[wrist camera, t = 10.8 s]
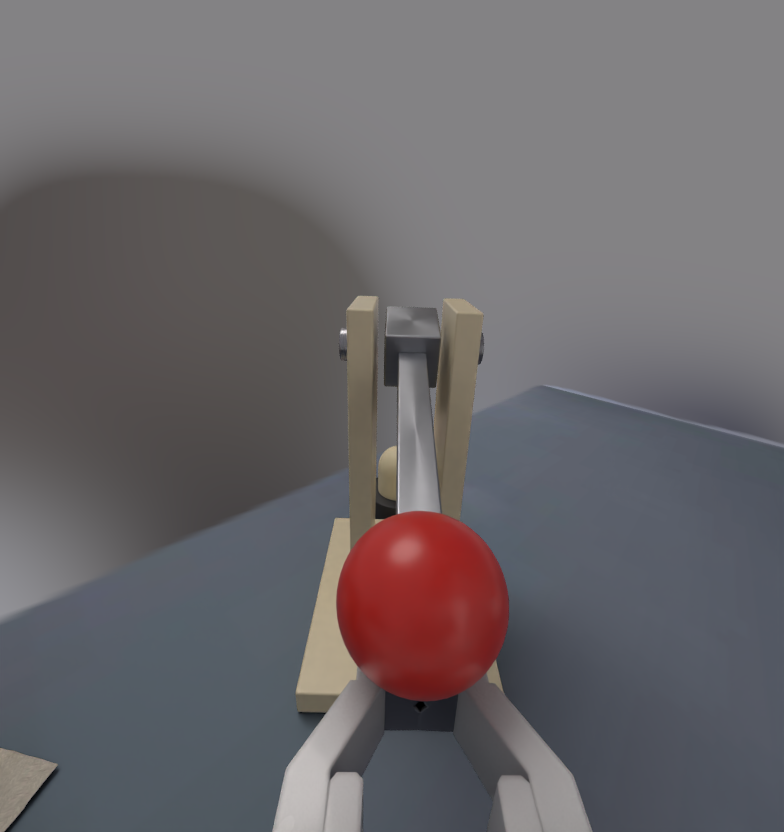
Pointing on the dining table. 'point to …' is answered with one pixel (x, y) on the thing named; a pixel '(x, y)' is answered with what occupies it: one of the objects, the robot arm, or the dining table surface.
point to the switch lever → (420, 553)
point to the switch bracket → (456, 380)
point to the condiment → (19, 782)
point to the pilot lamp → (386, 484)
